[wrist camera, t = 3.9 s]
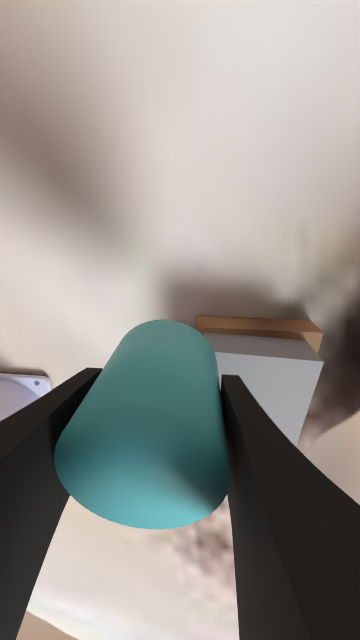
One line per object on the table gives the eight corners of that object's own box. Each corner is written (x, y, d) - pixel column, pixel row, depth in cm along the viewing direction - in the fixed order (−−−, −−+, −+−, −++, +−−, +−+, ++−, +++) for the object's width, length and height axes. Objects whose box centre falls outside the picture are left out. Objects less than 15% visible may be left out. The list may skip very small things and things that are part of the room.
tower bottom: (192, 399, 21) (191, 420, 19) (196, 313, 18) (195, 326, 16) (287, 405, 21) (298, 428, 19) (307, 317, 18) (323, 332, 15)
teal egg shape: (123, 406, 12) (74, 524, 7) (108, 320, 10) (33, 404, 6) (216, 407, 12) (227, 533, 7) (217, 318, 10) (233, 407, 5)
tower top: (196, 409, 19) (195, 436, 16) (204, 331, 16) (204, 350, 14) (283, 418, 18) (295, 447, 16) (306, 340, 16) (323, 361, 13)
